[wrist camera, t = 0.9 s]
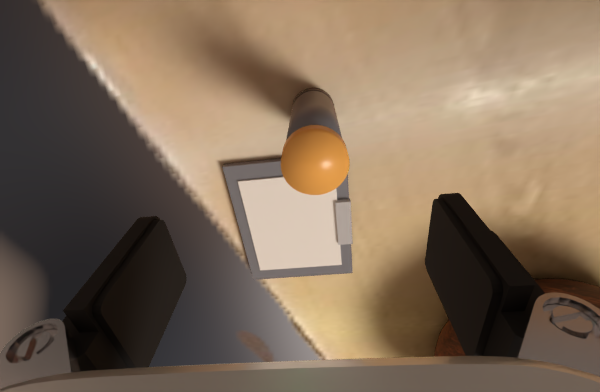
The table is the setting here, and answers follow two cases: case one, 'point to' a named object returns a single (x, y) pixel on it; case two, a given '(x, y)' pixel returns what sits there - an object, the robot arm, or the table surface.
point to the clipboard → (289, 223)
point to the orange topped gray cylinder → (314, 145)
